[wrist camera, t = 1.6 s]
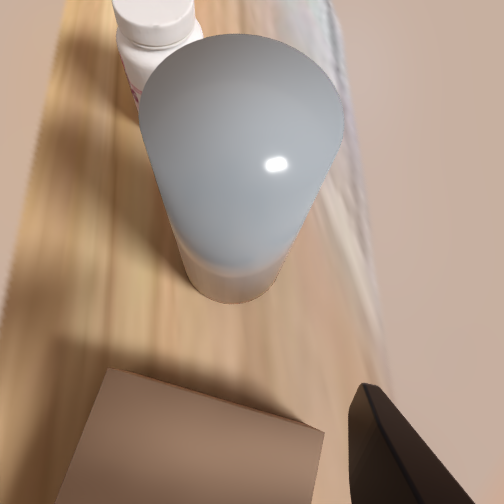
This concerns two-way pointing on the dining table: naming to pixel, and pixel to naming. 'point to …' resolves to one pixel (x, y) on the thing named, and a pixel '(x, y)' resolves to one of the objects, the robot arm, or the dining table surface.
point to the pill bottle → (152, 35)
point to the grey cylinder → (238, 155)
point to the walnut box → (187, 449)
